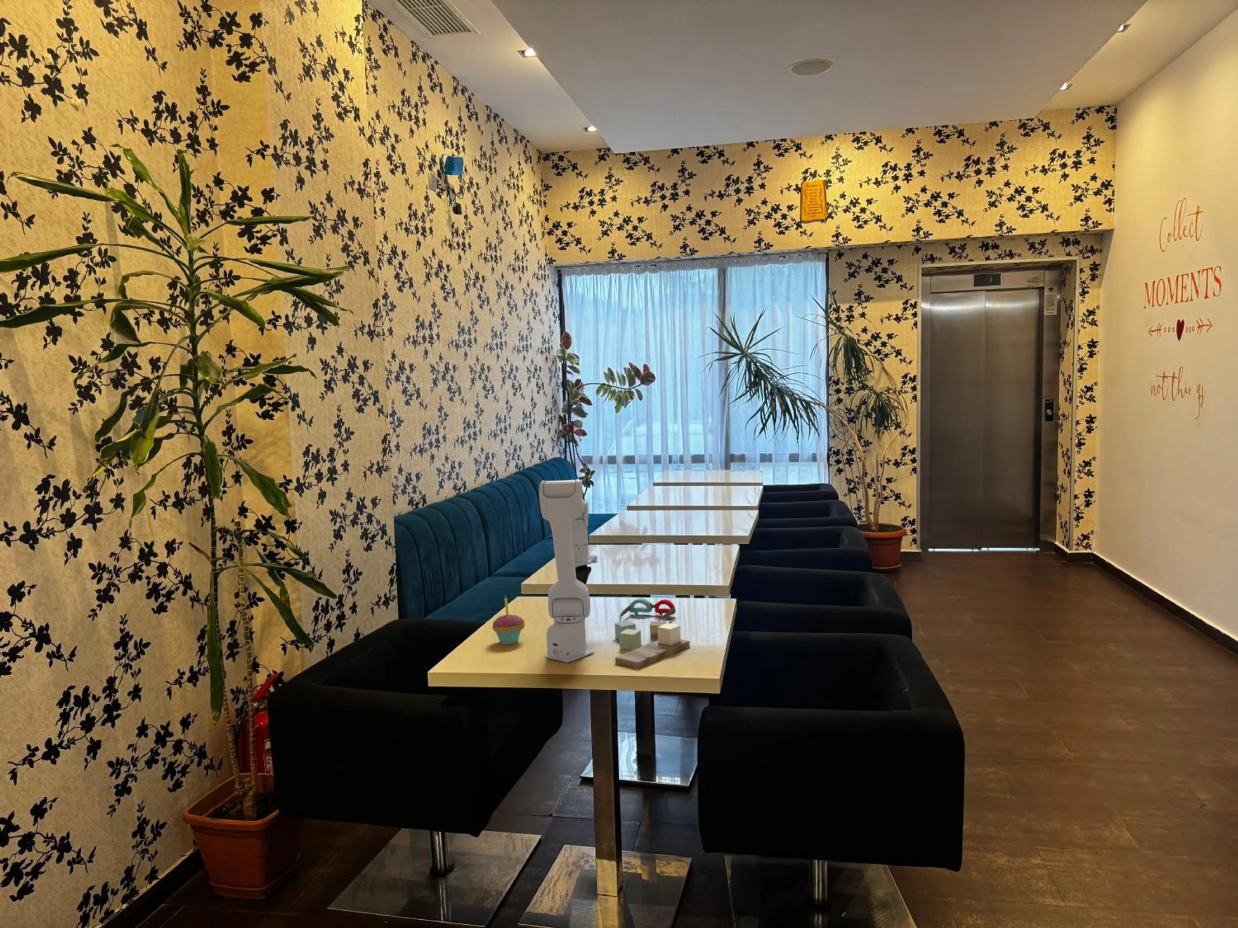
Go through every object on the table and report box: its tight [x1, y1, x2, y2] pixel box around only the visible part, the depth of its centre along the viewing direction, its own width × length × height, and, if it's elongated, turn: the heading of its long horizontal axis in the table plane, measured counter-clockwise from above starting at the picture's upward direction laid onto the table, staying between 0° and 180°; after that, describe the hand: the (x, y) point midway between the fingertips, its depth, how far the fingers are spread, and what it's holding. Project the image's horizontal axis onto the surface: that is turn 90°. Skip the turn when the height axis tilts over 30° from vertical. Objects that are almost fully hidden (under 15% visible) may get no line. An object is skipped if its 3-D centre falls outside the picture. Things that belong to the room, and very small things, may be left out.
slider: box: [658, 622, 682, 645], centre depth 210 cm, size 4×4×4 cm
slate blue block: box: [614, 620, 637, 641], centre depth 221 cm, size 4×4×4 cm
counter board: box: [614, 638, 691, 669], centre depth 206 cm, size 20×7×2 cm, turn 139°
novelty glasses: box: [619, 598, 677, 622], centre depth 237 cm, size 14×15×5 cm
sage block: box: [619, 629, 642, 651], centre depth 213 cm, size 4×4×4 cm
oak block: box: [649, 620, 667, 641], centre depth 220 cm, size 4×4×4 cm
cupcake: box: [491, 595, 526, 645], centre depth 222 cm, size 9×8×12 cm
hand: (579, 594), depth 228 cm, fingers closed
